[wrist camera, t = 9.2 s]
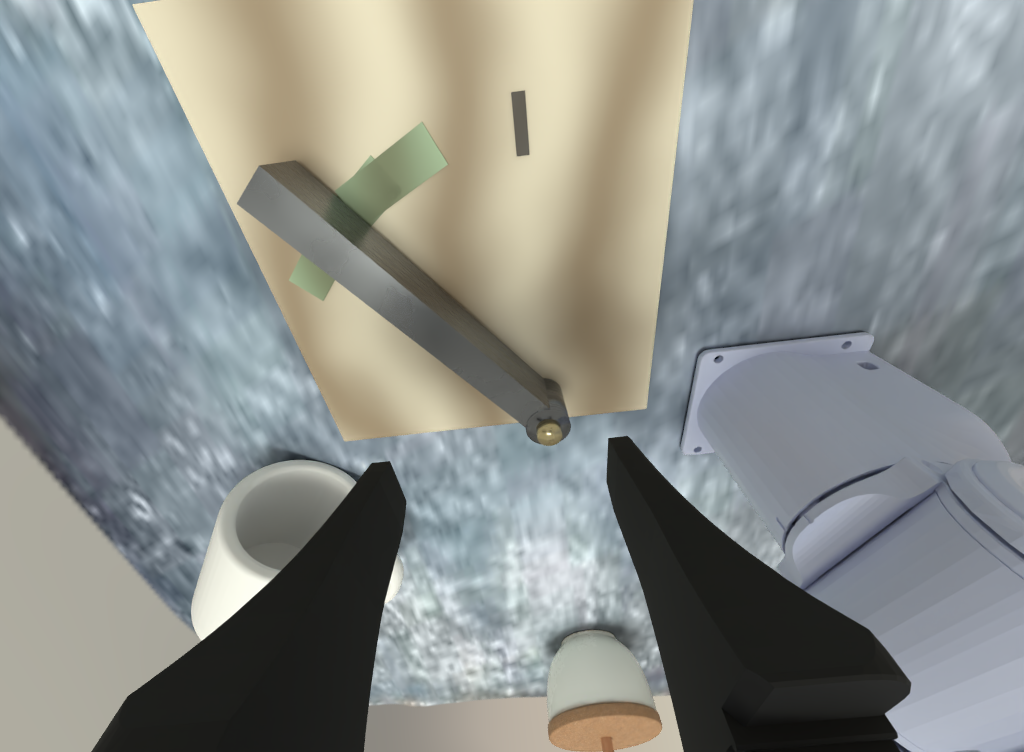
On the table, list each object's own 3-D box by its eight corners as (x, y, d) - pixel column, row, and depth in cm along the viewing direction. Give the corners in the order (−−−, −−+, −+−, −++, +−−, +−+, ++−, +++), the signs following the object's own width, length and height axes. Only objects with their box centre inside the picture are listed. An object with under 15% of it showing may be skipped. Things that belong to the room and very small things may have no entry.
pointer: (300, 153, 14) (251, 159, 11) (570, 394, 21) (582, 436, 18) (272, 198, 15) (219, 214, 12) (540, 416, 22) (547, 459, 19)
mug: (236, 525, 28) (156, 646, 22) (266, 440, 24) (177, 561, 17) (387, 566, 32) (359, 680, 25) (438, 500, 28) (419, 618, 21)
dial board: (686, -62, 12) (704, -81, 11) (639, 396, 23) (646, 409, 22) (160, 14, 13) (129, 3, 12) (351, 428, 23) (344, 442, 22)
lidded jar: (533, 661, 44) (541, 776, 36) (550, 617, 38) (565, 743, 30) (620, 662, 45) (646, 774, 37) (650, 620, 39) (688, 742, 31)
